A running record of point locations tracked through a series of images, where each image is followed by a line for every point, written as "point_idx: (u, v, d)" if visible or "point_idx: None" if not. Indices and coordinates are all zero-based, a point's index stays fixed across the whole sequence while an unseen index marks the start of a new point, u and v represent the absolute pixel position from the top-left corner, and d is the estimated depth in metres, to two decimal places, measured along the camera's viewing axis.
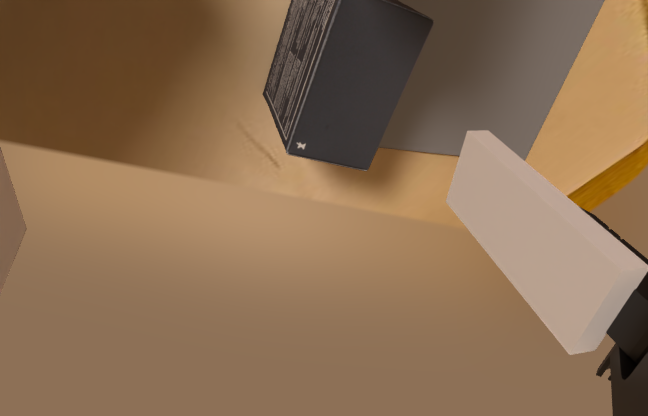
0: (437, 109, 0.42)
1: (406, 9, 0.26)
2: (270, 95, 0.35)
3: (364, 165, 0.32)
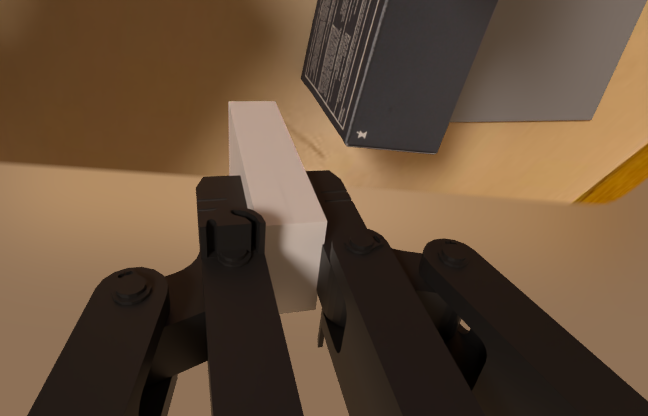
0: (494, 71, 0.37)
1: None
2: (311, 79, 0.31)
3: (433, 148, 0.27)
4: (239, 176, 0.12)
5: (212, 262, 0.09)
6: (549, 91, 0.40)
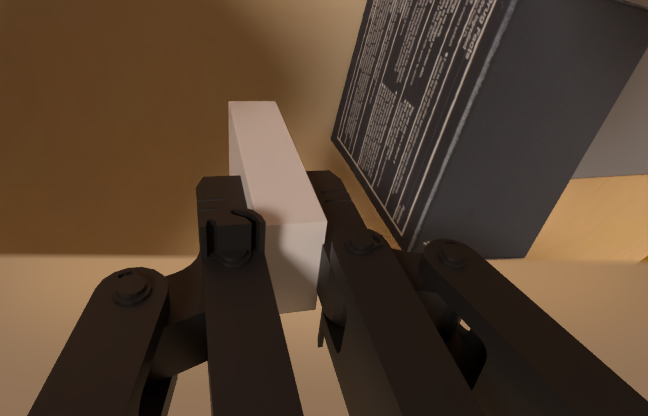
0: None
1: (623, 2, 0.14)
2: (347, 145, 0.24)
3: (521, 252, 0.20)
4: (239, 176, 0.12)
5: (212, 262, 0.09)
6: (631, 142, 0.32)
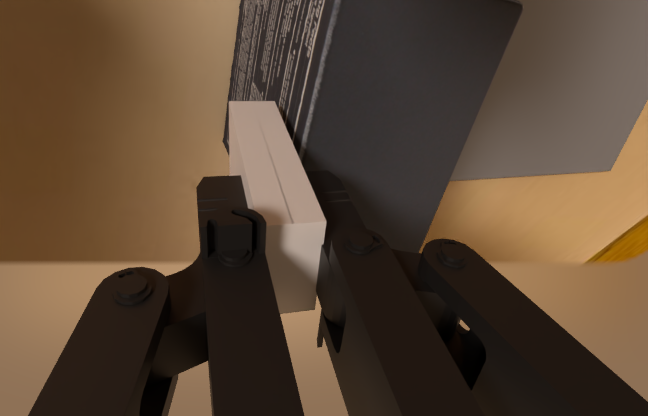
0: (486, 119, 0.28)
1: None
2: None
3: None
4: (240, 176, 0.12)
5: (212, 262, 0.09)
6: (558, 140, 0.31)
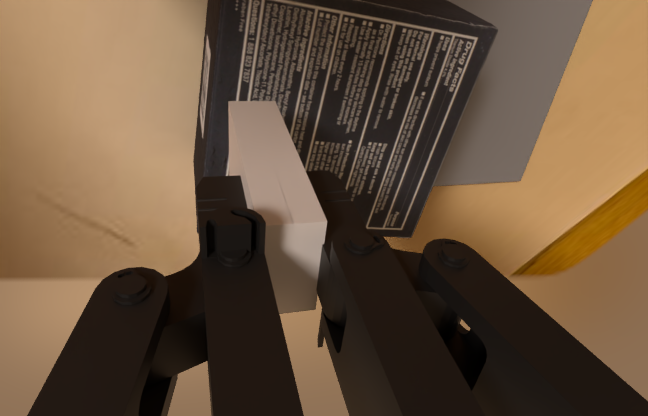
0: None
1: (449, 2, 0.21)
2: None
3: None
4: (239, 176, 0.12)
5: (212, 262, 0.09)
6: (455, 148, 0.29)
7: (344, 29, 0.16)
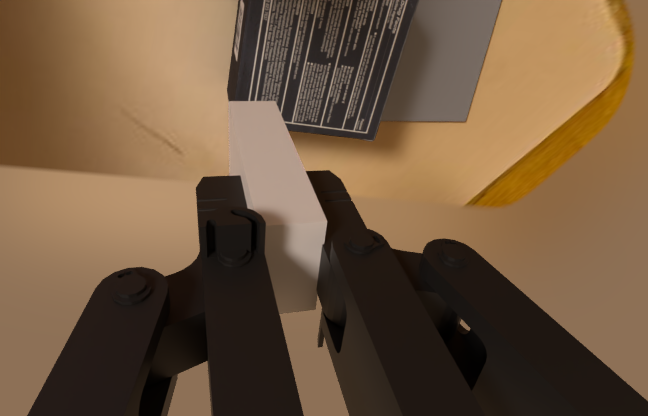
0: None
1: None
2: None
3: None
4: (239, 176, 0.12)
5: (212, 262, 0.09)
6: (413, 91, 0.40)
7: None
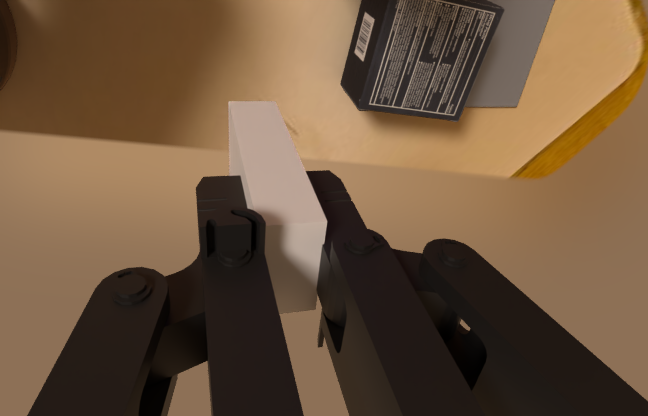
0: None
1: None
2: (386, 103, 0.41)
3: None
4: (239, 176, 0.12)
5: (212, 262, 0.09)
6: (478, 83, 0.50)
7: (437, 8, 0.37)
